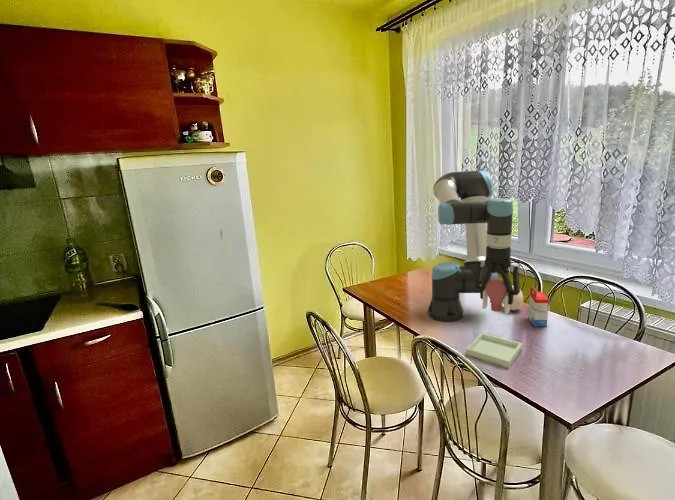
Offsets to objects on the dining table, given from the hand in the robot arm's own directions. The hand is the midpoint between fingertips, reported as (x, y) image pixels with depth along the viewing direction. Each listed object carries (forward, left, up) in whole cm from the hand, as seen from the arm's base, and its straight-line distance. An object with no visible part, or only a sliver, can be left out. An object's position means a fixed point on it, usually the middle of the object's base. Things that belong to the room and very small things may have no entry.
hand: (495, 309), depth 128 cm
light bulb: (0, 0, -1) cm, 1 cm away
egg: (-6, +40, -17) cm, 44 cm away
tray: (0, 0, -17) cm, 17 cm away
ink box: (+6, +33, -17) cm, 37 cm away
